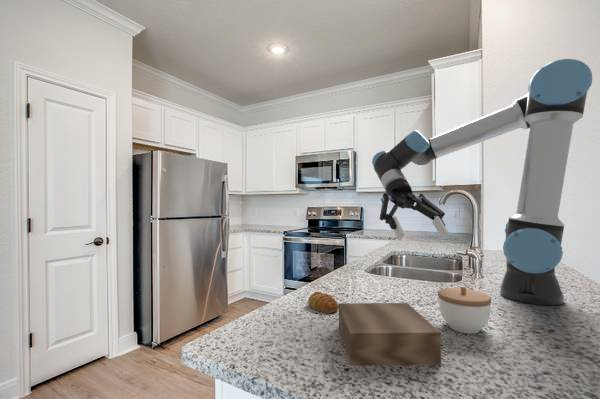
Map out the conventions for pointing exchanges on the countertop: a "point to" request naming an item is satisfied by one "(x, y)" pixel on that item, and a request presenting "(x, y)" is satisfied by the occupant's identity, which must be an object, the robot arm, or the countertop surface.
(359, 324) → the walnut box
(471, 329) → the lidded jar
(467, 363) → the countertop surface
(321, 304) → the pastry
